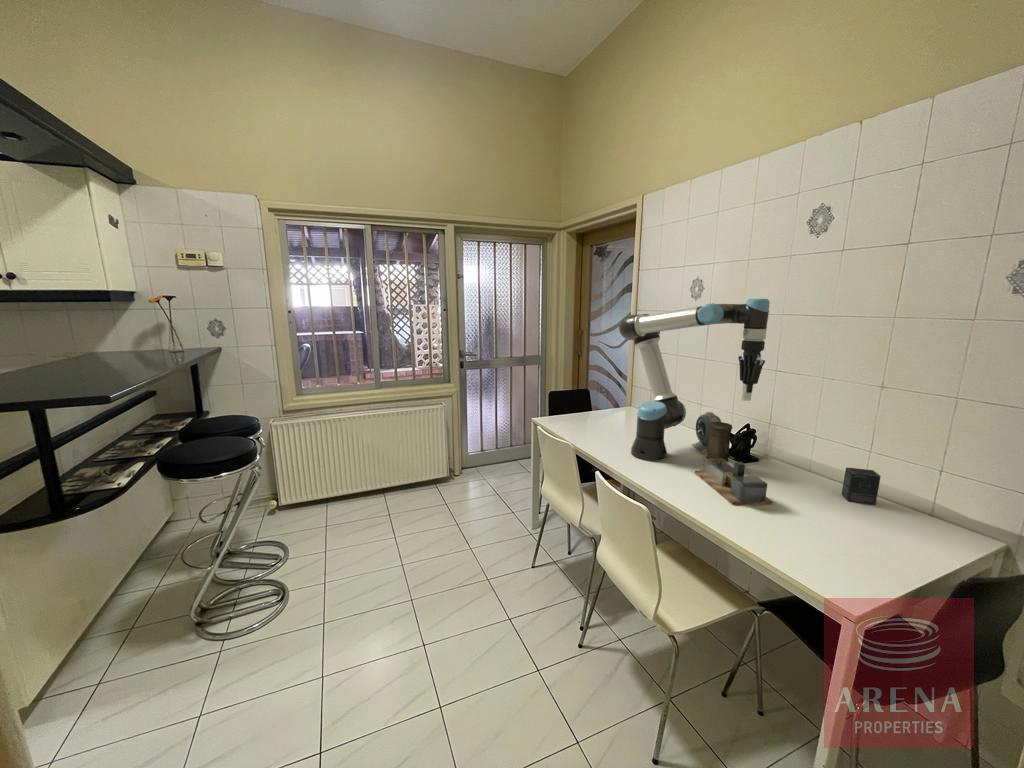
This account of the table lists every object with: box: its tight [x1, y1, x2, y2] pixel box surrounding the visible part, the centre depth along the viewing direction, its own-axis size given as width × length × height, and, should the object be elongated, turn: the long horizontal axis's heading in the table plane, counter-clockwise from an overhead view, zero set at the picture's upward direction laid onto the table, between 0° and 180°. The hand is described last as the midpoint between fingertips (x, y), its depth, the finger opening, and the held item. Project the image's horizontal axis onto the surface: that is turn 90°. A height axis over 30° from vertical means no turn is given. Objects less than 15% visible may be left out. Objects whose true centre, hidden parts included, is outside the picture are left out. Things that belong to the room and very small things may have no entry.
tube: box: [725, 461, 746, 486], centre depth 142 cm, size 14×4×10 cm, turn 3°
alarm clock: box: [690, 411, 722, 455], centre depth 185 cm, size 14×10×18 cm
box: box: [841, 466, 882, 506], centre depth 138 cm, size 8×6×11 cm
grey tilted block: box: [701, 458, 734, 486], centre depth 153 cm, size 14×8×5 cm, turn 3°
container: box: [705, 421, 733, 463], centre depth 166 cm, size 9×9×18 cm
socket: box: [730, 475, 768, 502], centre depth 137 cm, size 6×8×6 cm
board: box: [694, 469, 774, 506], centre depth 148 cm, size 26×14×1 cm, turn 3°
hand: (746, 400), depth 157 cm, fingers closed
